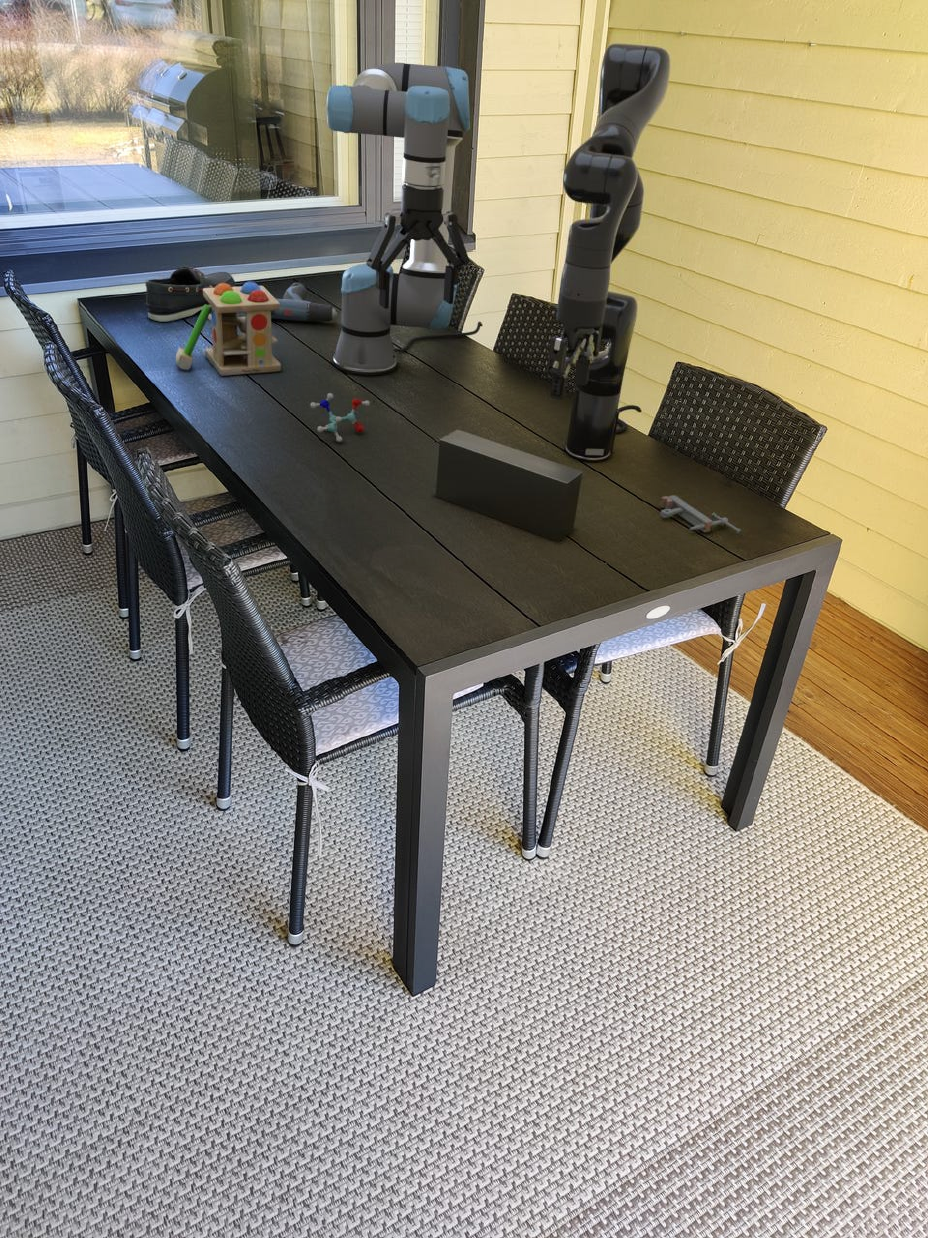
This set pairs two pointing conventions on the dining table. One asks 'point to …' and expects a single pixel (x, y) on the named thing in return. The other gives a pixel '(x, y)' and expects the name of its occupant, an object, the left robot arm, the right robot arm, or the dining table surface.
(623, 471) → the dining table surface
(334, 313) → the power drill
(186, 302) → the boat shoe
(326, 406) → the molecular model
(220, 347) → the pounding bench toy
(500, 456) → the box
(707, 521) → the clamp
